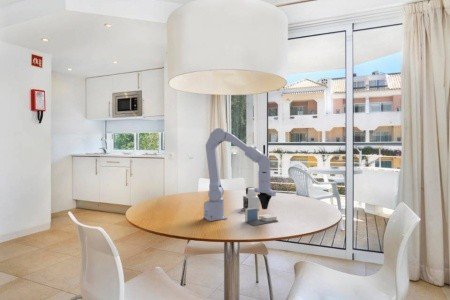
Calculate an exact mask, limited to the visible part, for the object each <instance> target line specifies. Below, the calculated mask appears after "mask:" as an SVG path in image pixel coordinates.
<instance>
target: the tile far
mask: <svg viewBox="0 0 450 300" xmlns="http://www.w3.org/2000/svg"><path fill="white" fill-rule="evenodd" d="M259 219H261V220H263V221H266V222H267V221H273V220H278V219H277V216H276V215H273V214H270V213H267V214H258V220H259Z"/></svg>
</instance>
